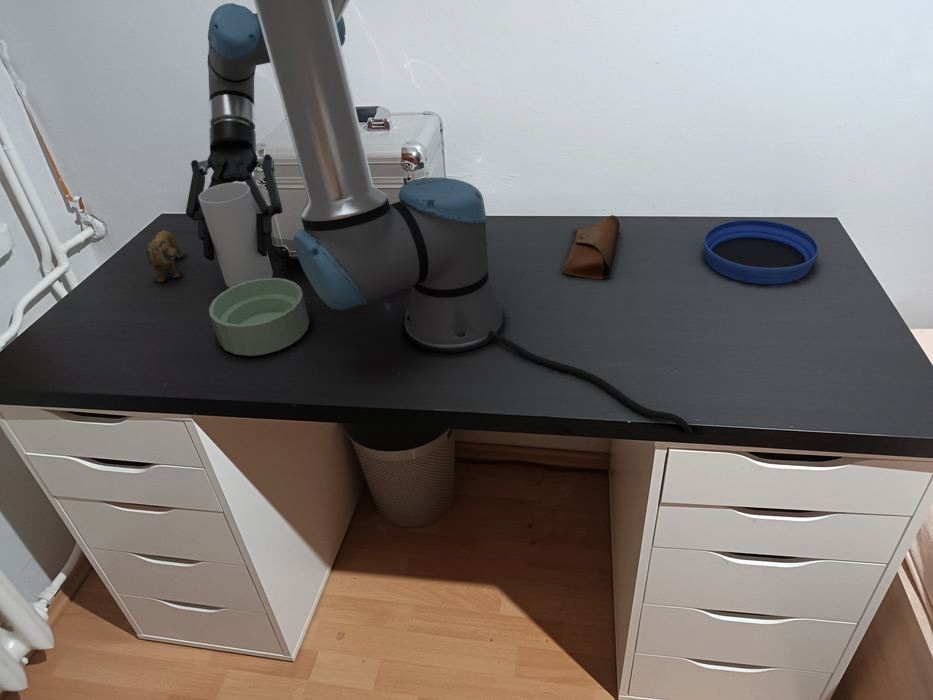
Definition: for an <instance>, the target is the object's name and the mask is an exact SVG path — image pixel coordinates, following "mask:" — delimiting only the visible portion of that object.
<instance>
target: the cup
mask: <svg viewBox="0 0 933 700" xmlns="http://www.w3.org/2000/svg"><path fill="white" fill-rule="evenodd" d="M199 202H200V205H201V208H202V211H203V214H204V217H205V220H206V224H207V227H208V230H209V233H210V236H211V239H212V242H213V245H214V253H215V255H216V257H217V261H218V264H219V267H220V270H221V273H222V276H223V280H224V283H225V285H226V286H227V287H228V289H229V288H231V287H233V286H235V285H238V284H241V283H243V282H246V281H251V280H255V279H262V278H273V275H274V271H273V268H272V264H271V261H270V256H269V253H268V252H267V256H262V255H261V254H259V253H258V252H257V220H256V214H258V213H257V208H256V204H255V200H254V197H253V195H252V193H251V190H250V187H249V186H248V185H247V184H246V183H244V182H232V183H225V184H220V185H216V186H213V187H210V188H208V187H207V188H206V189H204V190H203V192H201V193H200V195H199Z"/></svg>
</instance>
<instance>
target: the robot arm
mask: <svg viewBox="0 0 933 700" xmlns="http://www.w3.org/2000/svg"><path fill="white" fill-rule="evenodd" d="M350 1H351V0H253V3H254V7H255V10H256V12H255V13H254V12H253V11H251V9H249V8H248V7H247V6H245V5H239V4H236V3H233V2H230V3H224V4H222V5H220V6H218V7H216V9H214V11H213V12H212V14H211V15H210V19H209V25H208V31H207V40H208V54H207V68H208V74H207V75H208V97H209V98H208V123H209V125H208V126H209V155H208V157H207V159H206V160H202V161H198V160H196V159H193V160H191V162H190V166H191V171H192V176H191V180H190V186H189V192H188V197H187V201H186V202H187V203H186V208H185V215H187V216H188V218H190V219H191V220H193V221H197V237H198V238H199V239H200V240H201V241H202V242H203V244H202V245H203V246H202V247H203V249H202V250H203V257H204V258H206V259H207V260H208V261H215V249H214V245H213V242H212V239H211V236H210V233H209V230H208V227H207V224H206V220H205V217H204V214H203V211H202V208H201V205H200V202H199V195H200V193H201V192H203V191H204V190H205V184H206V176H207V175H208V171H209V169H210V168H211V170H212V171H213V173H212V175H211V177H210V182H209V185H208V187H207V189H208V188H210V187H213V186H216V185H220V184H225V183H236V182H237V183H245V184H246V185H248V186H249V187H250V190H251V194H252V197H253V200H254V202H255V203H256V205H257V207H258V209H259V211H260V212H261V213H257V214H256V220H257V252H258V253H259V254H261V255H262V256H267V253H268V247H267V245H268V244H267V236H272V234H273V223H272V222H273V221H272V218H273V216H276V215H280V214H282V213H283V206H282V202H281V197H280V193H279V188H278V185H277V180H276V177H275V168H274V162H275V160H274V159H273V157H272V155H270V154H268V153H266V154H265V155H264V156H260V155H258V154H257V139H256V137H257V136H256V131H255V130H256V106H255V76H256V68H257V66H261V65H265V64H270V65H271V68H272V72H273V76H274V80H275V83H276V87H277V91H278V94H279V99H280V101H281V105H282V109H283V113H284V116H285V120H286V124H287V127H288V131H289V135H290V138H291V141H292V145H293V149H294V153H295V156H296V159H297V163H298V168H299V171H300V175H301V178H302V182H303V185H304V189H305V192H306V193H305V194H306V197H307V200H306V203H305V205H304V207H303V208H302V209H301V212H300V215H299V216H300V219H301V222H302V227H303V229H299V230H298V231H297V232H295V233H294V235H293V237H292V241H293V243H294V250H295V254H296V256H297V259H298V261H299V264H300V266H301V268H302V270H303V273H304V274H305V276H306V278H307V280H308V281H309V283H310V285H311V287H312V289H314V291H315V293H316V294H317V295H318V297H319V298H320V299H321V300H322V302H323V303H324V304H325V305H327V306H328V307H329V308H330V309H333V310H336V311H344V310H348V309H350V308H354V307H357V306H366V305H367V304H368V303H370V302H373V301H376V300H378V299H381V298H383V297H384V298H385V297H386V296H389V295H392V294H394V293H398V292H400V291H403V290H405V289H408V288H411V289H410V293H409V297H407V298H406V299H405V301H404V302H403V303H402V306H403V310H405V309H406V311H405V316H404V317H405V318H404V324H405V331H406V335H407V337H408V339H409V340H410V341H411V342H412V343H413V344H415V345H416V346H417V347H419V348H421V349H424V350H427V351H429V352H435V353H442V354H456V353H463V352H468V351H473V350H475V349H478V348H482V347H483V346H485V345H487V344H489V343H490V342H491V341H493V340H495V341H496V342H499V343H500V344H502V345H504V346H505V347H507V348H509V349H511V350H512V351H514V352H516V353H518V354H519V355H521V356H522V357H525V358H526V359H528V360H530V361H533V362H535V363H536V364H537V363H538V364H539V365H543V366H545V367H549V368H551V369H555V370H559V371H562V372H566V373H569V374H572V375H576V376H578V377H581V378H584V379H585V380H587V381H590V382H592V383H594V384H596V385H597V386H599V387H601V388H602V389H604V390H605V391H606V392H608V393H609V394H611V395H612V396H613V397H614V398H616V399H617V400H618V401H620V402H621V403H623V404H624V405H625V406H627V407H628V408H630V409H632V410H633V411H635V412H637V413H639V414H640V415H643V416H645V417H648V418H653V419H659V420H665V421H669V422H671V423H675V424H676V425H678V426H679V428H681V430H683V432H685V433H686V434H689V435H691V434H693V433H694V430H693V428H692V427H691V426H690V425H689V423H688V422H687V421H686V420H685V419H683V418H682V417H681V416H679V415H676V414H673V413H670V412H667V411H666V412H665V411H658V410H654V409H650V408H647V407H645V406H643V405H641V404H639V403H638V402H636V401H634V400H633V399H631V398H630V397H628V396H626V395H625V394H624V393H622V392H621V391H620V390H618V389H617V388H615V387H614V386H613V385H611V384H610V383H609V382H607V381H605V380H604V379H602V378H600V377H599V376H597V375H595V374H593V373H590V372H588V371H586V370H584V369H581V368H577V367H575V366H572V365H568V364H564V363H561V362H557V361H554V360H551V359H549V358H548V359H547V358H545V357H542V356H539V355H537V354H535V353H532V352H530V351H528V350H526V349H525V348H523V347H522V346H521V345H518V344H517V343H515V342H514V341H511V340H510V339H508V338H506V337H504V336H502V335H501V334H500V333H501V331H502V329H503V326H504V325H503V323H504V319H503V317H504V316H503V309H502V306H501V303H500V302H499V300H498V299H497V296H496V294H495V291H494V288H493V286H492V283H491V281H490V279H489V261H488V260H489V259H488V243H487V240H488V239H487V225H486V224H487V223H486V222H487V220H488V219H487V218H488V217H487V214H486V207H485V202H484V197H483V194H482V192H481V191H480V190H479V188H477V187H476V186H474V185H473V184H471V183H469V182H466V181H464V180H460V179H456V178H449V177H422V178H416V179H412V180H410V181H407V182H405V183H404V184H403V185H402V186H401V187H400V188H399V191H398V192H399V193H398V199H399V200H398V201H397V202H393V203H390V202H389V197H388V194H386V193H385V192H384V191H382V190H381V189H379V188H377V187H376V186H375V185H374V183H373V179H372V178H373V177H372V174H371V170H370V165H369V162H368V161H369V160H368V156H367V153H366V148H365V144H364V139H363V135H362V131H361V130H362V129H361V125H360V122H359V118H358V113H357V109H356V105H355V99H354V96H353V92H352V88H351V87H352V86H351V83H350V78H349V74H348V69H347V65H346V61H345V56H344V52H343V48H342V47H343V46H344V44H345V42H346V25H345V24H346V23H345V19H344V16H343V15H344V13H345V11H346V8H347V6H349V3H350ZM255 147H256V148H255ZM256 154H257V155H256ZM273 160H274V161H273ZM258 165H259V167H260V168H261V169H262V172H263V176H264V180H265V181H264V182H265V185H266V189H267V194H268V198H269V202H270V205H268V203H267V202H266V199H265V198H264V196H263V194H262V192H261V189H260V188H259V186H258V184H257V182H256V180H255V178H254V176H253V172H254V171H255V169H256V168H257V167H258Z"/></svg>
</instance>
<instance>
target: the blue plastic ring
mask: <svg viewBox="0 0 933 700" xmlns="http://www.w3.org/2000/svg"><path fill="white" fill-rule="evenodd" d="M702 245H703V250H704V254H705V255H704V256H705V257H704V258H705V261H706V263H707V264H708V265H709V266H710V267H711V268H712V270H714V271H716V273H719V274H720V275H722V276H724V277H726V278H729V279H732V280H734V281H739V282H741V283H750V284H755V285H756V284H757V285H779V284H786V283H791V282H794V281H798V280H799V279H801V278H803V277H805V276H806V275H807V274H809V272H810V270H811V269H812V266H813V265H814V264H815V262H816V261H817V259H818V256H819V245H818V243H817V241H816V240H815V238H814V237H812V236H811V234H809V233H808V232H806V231H805V230H802V229H801V228H798V227H795V226H793V225H789V224H786V223H782V222H777V221H773V220H772V221H771V220H763V219H738V220H737V219H736V220H731V221H727V222H724V223H719V224H718V225H716V226H714V227H712V228H710V229H709V230H708V231H707V232H706V234H705V235H704V238H703V243H702Z"/></svg>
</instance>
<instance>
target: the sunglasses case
mask: <svg viewBox="0 0 933 700" xmlns="http://www.w3.org/2000/svg"><path fill="white" fill-rule="evenodd" d="M620 224H621V223H620V220H619V217H617V216H616V215H614V214H611V215H609V216H607V217H605V218H604V219H602V220H600V221H597V222H594V223H591V224H588V225H585V226H582V227H580V228H577V229H576V230H575V233H574V238H573V241H572V245H571V247H570V250H569V252H568V255H567V258H566V259H565V262H564V264H563V267H562V270H561V273H563V274H564V275H568V276H573V277H576V278H582V279H593V280H604V279H606V278H607V277H608V276H610V273H611V270H612V266H613V261H614V256H615V252H616V246H617V241H618V237H619V233H620Z"/></svg>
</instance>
